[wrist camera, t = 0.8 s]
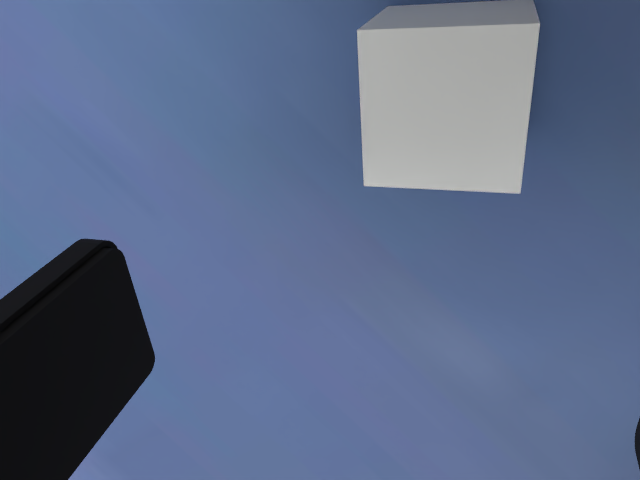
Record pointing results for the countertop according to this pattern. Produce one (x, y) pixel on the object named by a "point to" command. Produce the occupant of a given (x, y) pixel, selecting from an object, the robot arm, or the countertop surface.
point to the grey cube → (447, 94)
